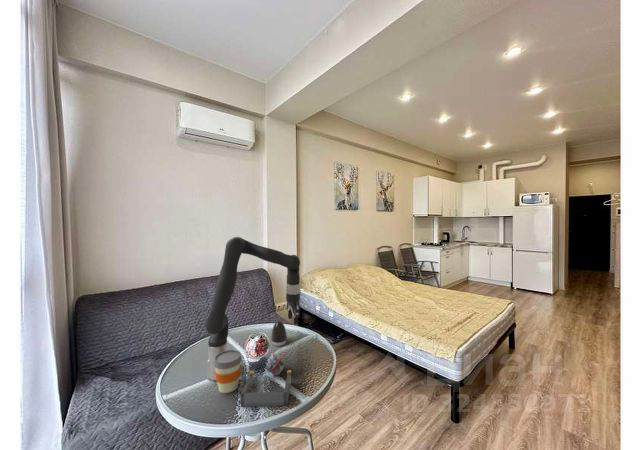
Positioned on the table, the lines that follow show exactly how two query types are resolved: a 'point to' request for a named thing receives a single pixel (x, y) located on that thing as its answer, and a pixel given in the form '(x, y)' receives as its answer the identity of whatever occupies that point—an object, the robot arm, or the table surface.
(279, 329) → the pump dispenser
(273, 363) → the brake caliper
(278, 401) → the cradle
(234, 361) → the reusable coffee cup
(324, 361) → the table surface
